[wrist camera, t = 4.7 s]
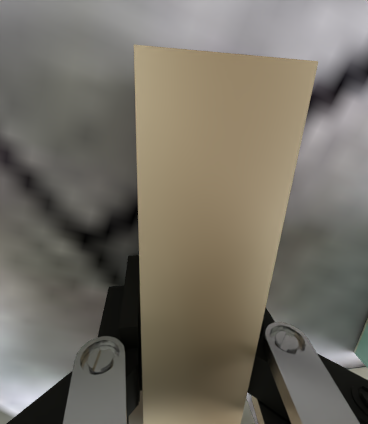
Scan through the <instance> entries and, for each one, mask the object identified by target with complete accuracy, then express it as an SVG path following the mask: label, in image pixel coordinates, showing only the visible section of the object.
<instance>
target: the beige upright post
mask: <svg viewBox="0 0 368 424" xmlns="http://www.w3.org/2000/svg"><path fill="white" fill-rule="evenodd" d="M317 65H318V61H308V60H297V59H286V58H275V57H264V56H253V55H242V54H231V53H219V52H208V51H197V50H186V49H175V48H164V47H153V46H142V45H134V71H135V110H136V150H137V189H138V229H139V268H140V308H141V347H142V387H143V390H142V391H140V402H139V405H138V406H137V407H136V408H135V409H134V411H133V412H132V413H131V414H130V415H129V424H255V422H254V419H253V416H252V413H251V410H250V407H249V404H248V402H247V399H246V396H247V391H248V387H249V382H250V377H251V373H252V368H253V363H254V359H255V354H256V349H257V345H258V340H259V335H260V331H261V326H262V321H263V317H264V312H265V307H266V303H267V298H268V293H269V289H270V284H271V279H272V275H273V270H274V265H275V261H276V256H277V251H278V247H279V242H280V237H281V233H282V228H283V223H284V219H285V214H286V209H287V205H288V200H289V195H290V191H291V186H292V182H293V177H294V172H295V168H296V163H297V158H298V154H299V149H300V144H301V140H302V135H303V130H304V126H305V121H306V116H307V112H308V107H309V102H310V98H311V93H312V88H313V84H314V79H315V74H316V70H317Z"/></svg>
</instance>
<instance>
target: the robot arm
mask: <svg viewBox="0 0 368 424" xmlns="http://www.w3.org/2000/svg"><path fill="white" fill-rule="evenodd" d="M142 390H143V387H142V347H141V308H140V268H139V255H133V256H128V262H127V270H126V277H125V285H124V286H112V287H109V289H108V293H107V298H106V302H105V307H104V311H103V316H102V321H101V325H100V330H99V334H98V338H95V339H93V340H91V341H89V342H87V343H86V344H85V345H84V346H83V347H82V348H81V349H80V350H79V352H78V353H77V356H76V358H75V361H74V367H73V371H72V372H70V373H69V374H68V375H67V376H65V377H64V378H63V379H62V380H60V381H59V382H58V383H57V384H55V385H54V386H53V387H52V388H50V389H49V390H48V391H47V392H45V393H44V394H43V395H42V396H40V397H39V398H38V399H37V400H35V401H34V402H33V403H32V404H31V405H29V406H28V407H27V408H26V409H24V410H23V411H22V412H21V413H19V414H18V415H17V416H16V417H14V418H13V419H12V420H11V421H9V422H8V423H7V424H129V415H130V414H131V413H132V412H133V411H134V409H135V408H136V407H137V406H138V405H139V402H140V391H142ZM247 392H248V393H249V394H251V396H252V402H253V406H254V409H255V413H256V416H257V420H258V423H259V424H368V380H367V379H365V378H363V377H361V376H359V375H357V374H355V373H353V372H352V371H350V370H348V369H346V368H344V367H342V366H340V365H338V364H336V363H334V362H332V361H330V360H329V359H327V358H325V357H323V356H321V355H319V354H317V353H316V351H315V349H314V348H313V346H312V344H311V343H310V341H309V340H308V338H307V337H306V336H305V334H304V333H303V332H302V331H300V330H299V329H298V328H296V327H294V326H293V325H290V324H287V323H283V322H274V320H273V318H272V317H271V315H270V313H269V312H268V310H267V309H266V307H265V312H264V317H263V321H262V326H261V331H260V335H259V340H258V345H257V349H256V354H255V359H254V363H253V368H252V373H251V377H250V382H249V387H248V391H247Z"/></svg>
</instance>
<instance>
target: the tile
mask: <svg viewBox="0 0 368 424" xmlns="http://www.w3.org/2000/svg"><path fill="white" fill-rule="evenodd" d="M354 353H355V354H356V356H357V357H358V358H359V359H360V360H361V361H362V362H363V363H364V365H365V366H366V367H367V368H368V319H367V321H366V323H365V326H364V328H363V331H362V333H361V336H360V338H359V341H358V343H357V346H356V348H355V350H354Z"/></svg>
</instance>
